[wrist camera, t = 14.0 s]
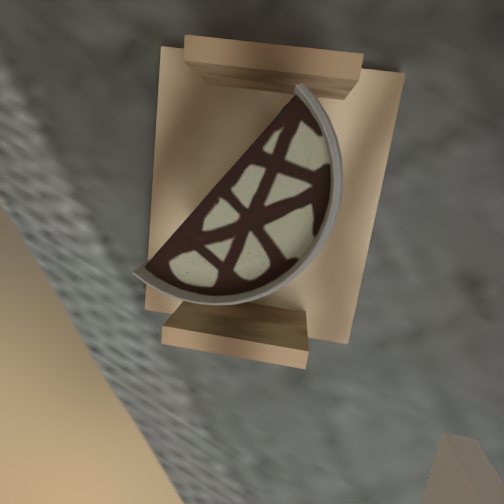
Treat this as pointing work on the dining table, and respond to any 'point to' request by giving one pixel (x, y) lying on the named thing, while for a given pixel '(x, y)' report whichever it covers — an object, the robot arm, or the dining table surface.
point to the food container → (258, 214)
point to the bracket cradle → (229, 152)
